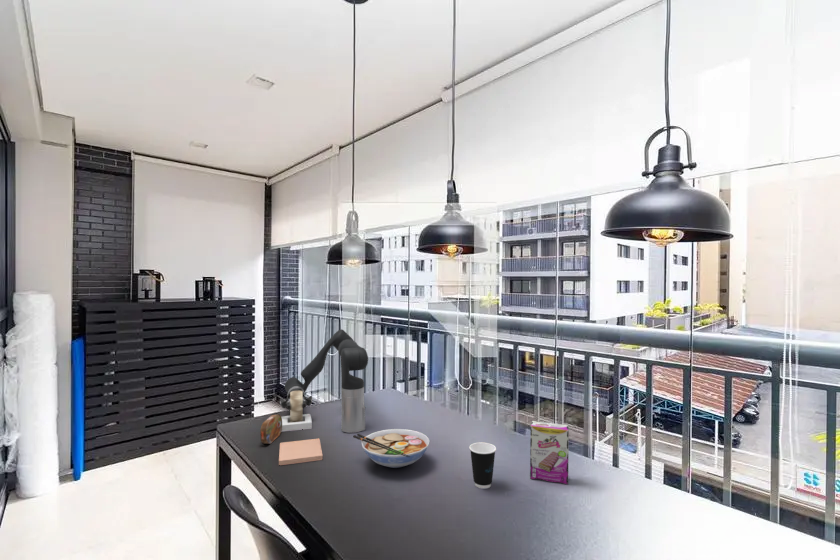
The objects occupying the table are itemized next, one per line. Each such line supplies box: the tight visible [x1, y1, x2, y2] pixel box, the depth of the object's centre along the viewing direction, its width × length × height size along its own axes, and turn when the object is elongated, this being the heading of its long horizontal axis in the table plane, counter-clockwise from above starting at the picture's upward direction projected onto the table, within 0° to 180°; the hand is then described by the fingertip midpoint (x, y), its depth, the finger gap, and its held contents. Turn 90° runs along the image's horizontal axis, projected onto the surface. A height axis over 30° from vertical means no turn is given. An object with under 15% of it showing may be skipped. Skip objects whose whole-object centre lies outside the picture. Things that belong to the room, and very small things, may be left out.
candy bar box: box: [529, 420, 570, 485], centre depth 124 cm, size 11×5×16 cm, turn 71°
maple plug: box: [289, 391, 304, 423], centre depth 171 cm, size 5×5×14 cm
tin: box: [259, 414, 282, 445], centre depth 156 cm, size 15×3×8 cm, turn 177°
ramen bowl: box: [352, 428, 431, 469], centre depth 135 cm, size 25×23×8 cm
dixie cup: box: [469, 441, 497, 490], centre depth 120 cm, size 8×8×11 cm
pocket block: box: [281, 413, 313, 433], centre depth 171 cm, size 12×12×2 cm
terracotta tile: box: [278, 438, 324, 466], centre depth 143 cm, size 14×16×2 cm
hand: (296, 406), depth 169 cm, fingers closed on maple plug, 5 cm apart
